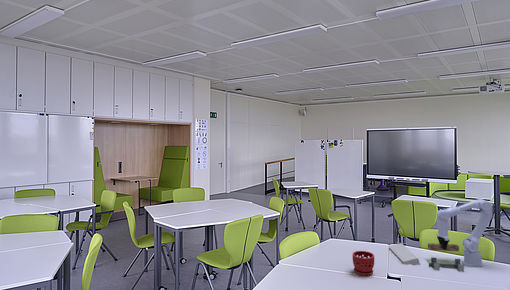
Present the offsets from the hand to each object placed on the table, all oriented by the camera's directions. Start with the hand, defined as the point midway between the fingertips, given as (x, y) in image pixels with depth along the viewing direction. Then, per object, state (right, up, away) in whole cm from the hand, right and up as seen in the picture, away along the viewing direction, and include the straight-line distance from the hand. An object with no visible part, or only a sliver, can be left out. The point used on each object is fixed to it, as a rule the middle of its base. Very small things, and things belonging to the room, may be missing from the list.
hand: (443, 248), depth 219 cm
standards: (-5, -9, -12) cm, 16 cm away
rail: (0, -1, 0) cm, 1 cm away
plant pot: (-60, -10, -17) cm, 63 cm away
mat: (0, -9, 0) cm, 9 cm away
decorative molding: (-21, -11, +14) cm, 27 cm away
